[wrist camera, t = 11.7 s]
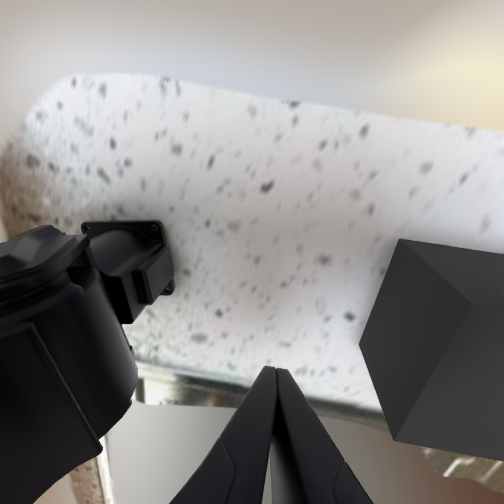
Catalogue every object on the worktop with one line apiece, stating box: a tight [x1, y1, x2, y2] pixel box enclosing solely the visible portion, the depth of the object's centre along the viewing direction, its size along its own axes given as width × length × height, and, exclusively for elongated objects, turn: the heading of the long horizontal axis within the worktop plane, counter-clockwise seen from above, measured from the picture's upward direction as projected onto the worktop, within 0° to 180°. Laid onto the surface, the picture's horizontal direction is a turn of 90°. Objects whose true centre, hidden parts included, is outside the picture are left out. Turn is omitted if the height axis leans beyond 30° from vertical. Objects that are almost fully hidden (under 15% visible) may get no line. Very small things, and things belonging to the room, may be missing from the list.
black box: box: [359, 239, 504, 461], centre depth 17 cm, size 11×10×8 cm
